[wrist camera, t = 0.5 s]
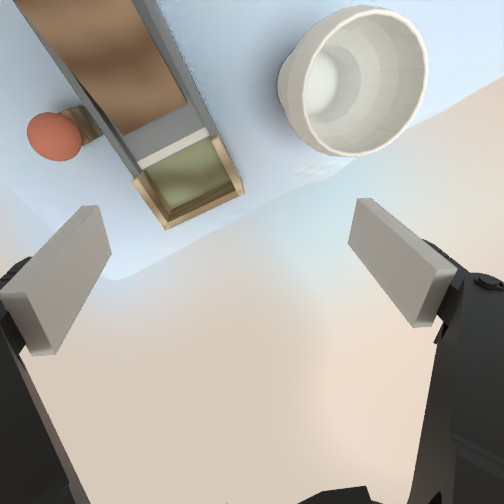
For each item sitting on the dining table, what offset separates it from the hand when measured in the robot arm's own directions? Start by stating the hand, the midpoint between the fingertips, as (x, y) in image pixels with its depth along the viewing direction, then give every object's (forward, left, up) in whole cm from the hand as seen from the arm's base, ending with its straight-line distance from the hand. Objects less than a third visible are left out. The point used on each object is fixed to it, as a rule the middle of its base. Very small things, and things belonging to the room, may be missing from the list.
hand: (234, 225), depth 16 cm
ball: (-8, -14, -18) cm, 24 cm away
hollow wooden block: (-8, -14, -25) cm, 30 cm away
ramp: (-12, -6, -23) cm, 27 cm away
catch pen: (+3, -6, -25) cm, 26 cm away
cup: (-1, +12, -25) cm, 28 cm away
